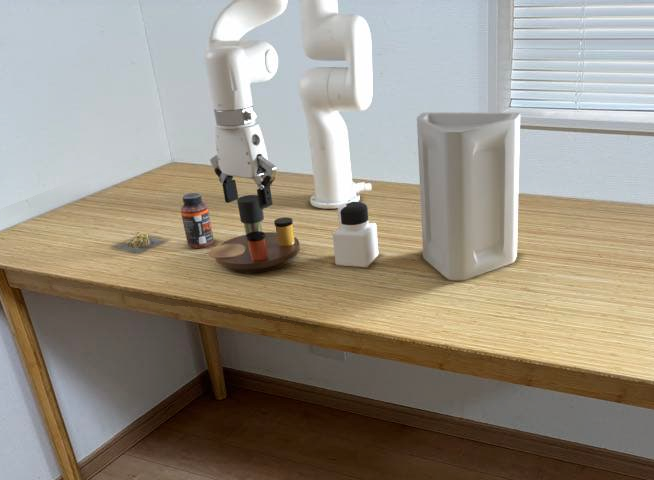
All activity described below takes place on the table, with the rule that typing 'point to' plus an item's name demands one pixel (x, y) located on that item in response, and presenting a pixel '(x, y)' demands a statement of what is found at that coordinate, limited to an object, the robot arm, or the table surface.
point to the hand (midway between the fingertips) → (248, 203)
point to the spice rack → (257, 240)
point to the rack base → (260, 268)
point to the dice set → (139, 243)
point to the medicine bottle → (355, 236)
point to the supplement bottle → (196, 221)
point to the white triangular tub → (469, 191)
